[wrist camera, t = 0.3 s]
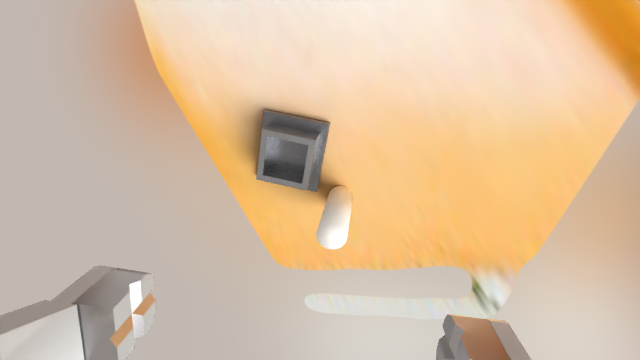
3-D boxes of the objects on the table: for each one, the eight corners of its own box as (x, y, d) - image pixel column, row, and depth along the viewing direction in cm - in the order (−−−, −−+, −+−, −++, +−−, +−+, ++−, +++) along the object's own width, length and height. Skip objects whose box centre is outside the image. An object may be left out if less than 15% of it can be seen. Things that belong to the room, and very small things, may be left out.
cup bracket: (265, 109, 48) (255, 115, 43) (330, 122, 47) (325, 130, 43) (258, 176, 51) (248, 187, 47) (317, 189, 51) (312, 202, 47)
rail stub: (330, 183, 50) (319, 219, 40) (355, 188, 50) (349, 226, 40) (326, 205, 52) (314, 245, 41) (350, 210, 51) (343, 252, 41)
